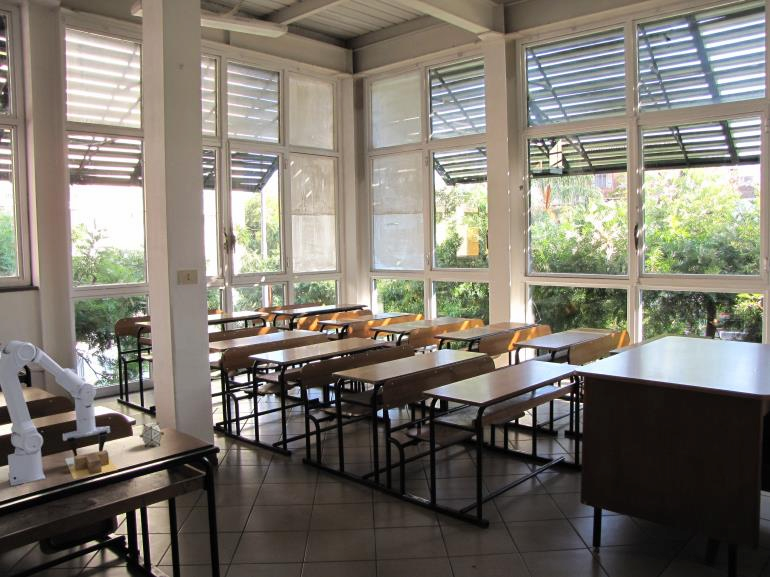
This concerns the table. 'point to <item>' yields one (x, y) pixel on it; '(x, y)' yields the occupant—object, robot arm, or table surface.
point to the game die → (151, 434)
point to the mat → (85, 472)
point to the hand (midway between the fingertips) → (88, 456)
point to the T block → (91, 461)
